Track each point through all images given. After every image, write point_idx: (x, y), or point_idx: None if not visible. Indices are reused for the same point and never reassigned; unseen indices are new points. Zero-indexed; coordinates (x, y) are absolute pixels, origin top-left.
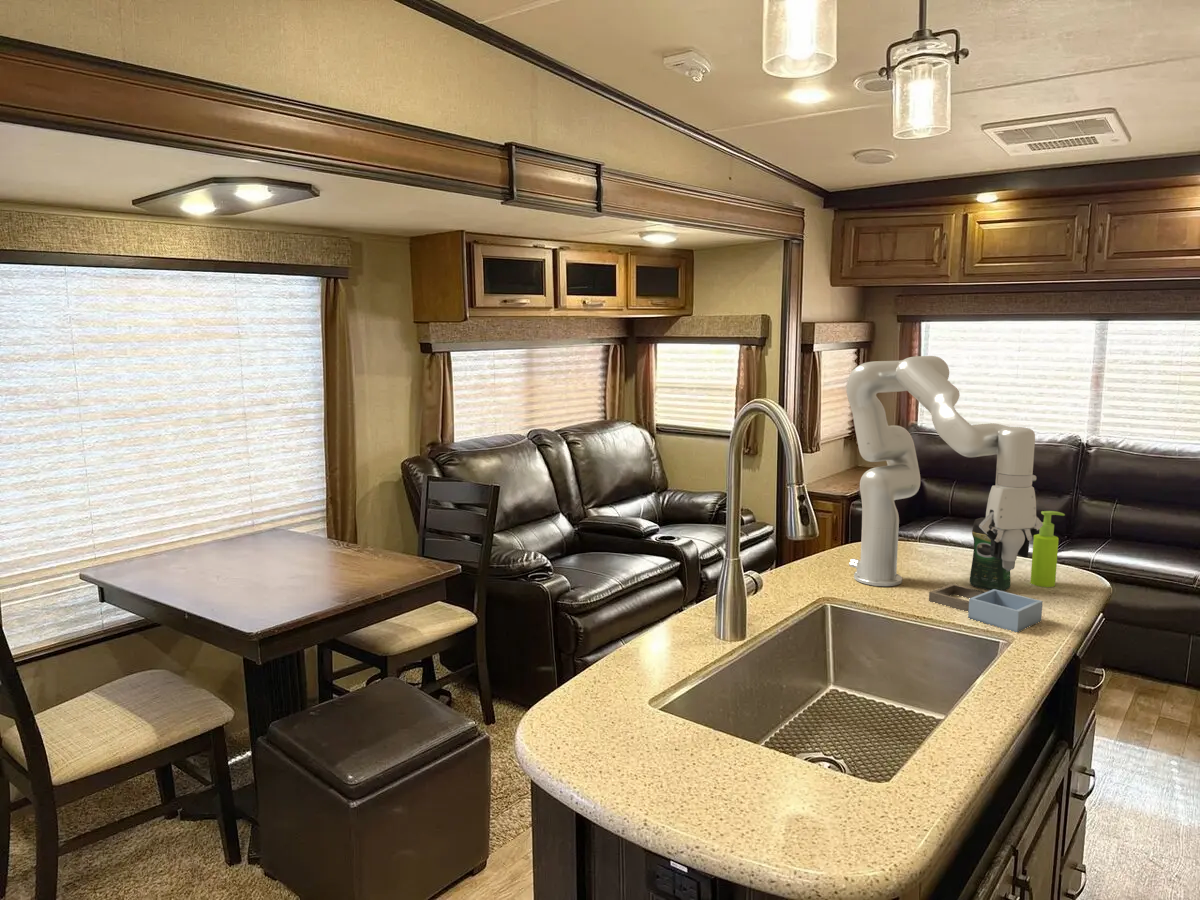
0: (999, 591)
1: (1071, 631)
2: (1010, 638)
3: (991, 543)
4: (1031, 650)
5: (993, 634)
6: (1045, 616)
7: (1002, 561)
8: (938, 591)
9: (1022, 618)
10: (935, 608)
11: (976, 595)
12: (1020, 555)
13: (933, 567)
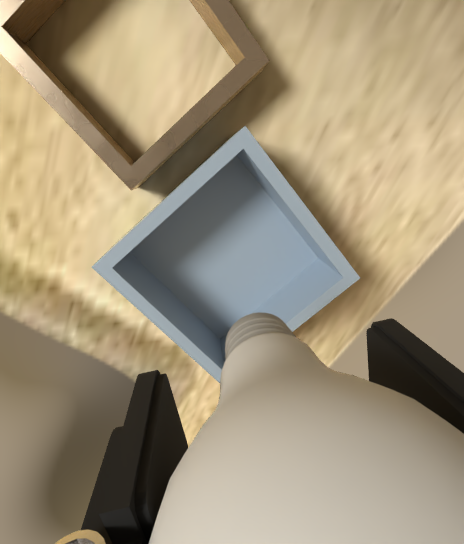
0: (254, 162)
1: (366, 324)
2: (184, 384)
3: (92, 521)
4: None
5: (149, 363)
6: (368, 208)
7: (226, 355)
8: (23, 5)
9: None
10: (16, 137)
11: (209, 18)
12: (369, 367)
13: None
